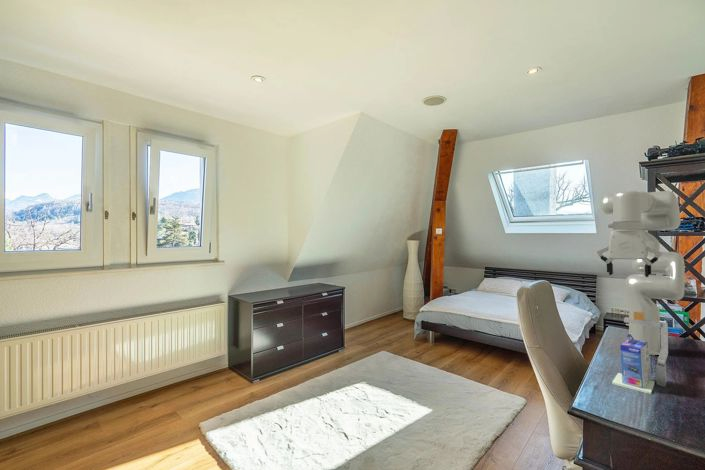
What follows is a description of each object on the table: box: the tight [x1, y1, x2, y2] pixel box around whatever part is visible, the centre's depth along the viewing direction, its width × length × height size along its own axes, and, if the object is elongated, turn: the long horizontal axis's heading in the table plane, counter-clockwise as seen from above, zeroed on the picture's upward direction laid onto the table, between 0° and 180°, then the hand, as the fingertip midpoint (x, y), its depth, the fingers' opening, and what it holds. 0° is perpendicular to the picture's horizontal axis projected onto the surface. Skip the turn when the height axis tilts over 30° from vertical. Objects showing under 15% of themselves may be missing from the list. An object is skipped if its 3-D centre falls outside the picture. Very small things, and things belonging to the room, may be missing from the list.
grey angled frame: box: [623, 312, 669, 364], centre depth 110 cm, size 15×11×13 cm
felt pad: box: [611, 372, 656, 395], centre depth 102 cm, size 11×9×1 cm
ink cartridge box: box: [619, 333, 651, 388], centre depth 102 cm, size 10×6×14 cm, turn 128°
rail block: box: [655, 361, 667, 387], centre depth 102 cm, size 4×2×6 cm, turn 132°
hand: (628, 275), depth 112 cm, fingers open, 9 cm apart
